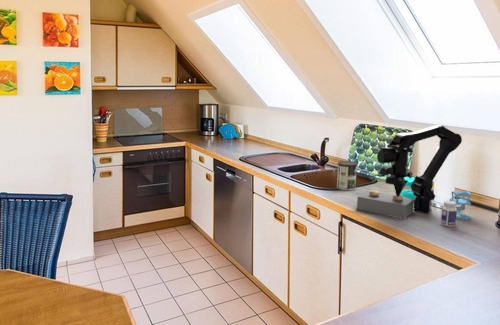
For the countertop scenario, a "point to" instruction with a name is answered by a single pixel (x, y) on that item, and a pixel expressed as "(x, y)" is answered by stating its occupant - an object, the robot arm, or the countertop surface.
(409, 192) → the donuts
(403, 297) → the countertop surface
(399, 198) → the near cap
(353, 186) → the coffee can
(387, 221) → the countertop surface
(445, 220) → the pill bottle
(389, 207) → the housing
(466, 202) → the chair
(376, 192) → the far cap
